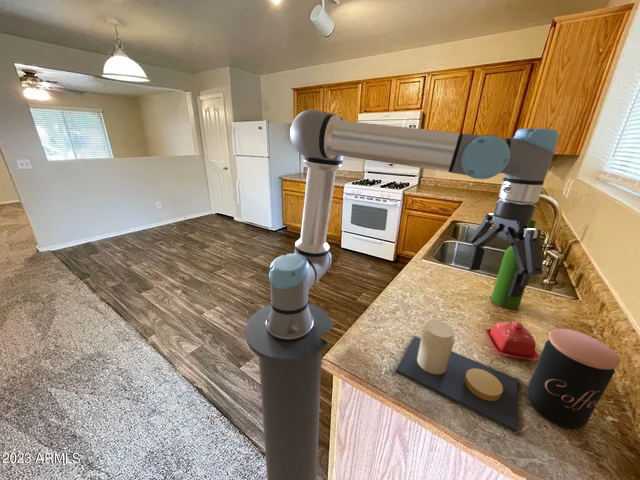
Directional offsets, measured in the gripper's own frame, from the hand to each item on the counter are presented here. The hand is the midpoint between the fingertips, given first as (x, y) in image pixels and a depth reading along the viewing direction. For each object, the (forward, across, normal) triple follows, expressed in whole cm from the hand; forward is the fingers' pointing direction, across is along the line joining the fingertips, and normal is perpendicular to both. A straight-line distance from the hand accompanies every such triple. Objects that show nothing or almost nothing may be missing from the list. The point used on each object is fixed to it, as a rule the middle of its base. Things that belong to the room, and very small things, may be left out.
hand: (492, 281), depth 69 cm
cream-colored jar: (+22, +3, -14) cm, 27 cm away
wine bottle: (+23, -21, +30) cm, 44 cm away
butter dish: (+23, 0, +13) cm, 26 cm away
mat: (+23, +7, -10) cm, 26 cm away
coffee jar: (+23, +19, +7) cm, 30 cm away
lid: (+21, +12, -6) cm, 25 cm away
